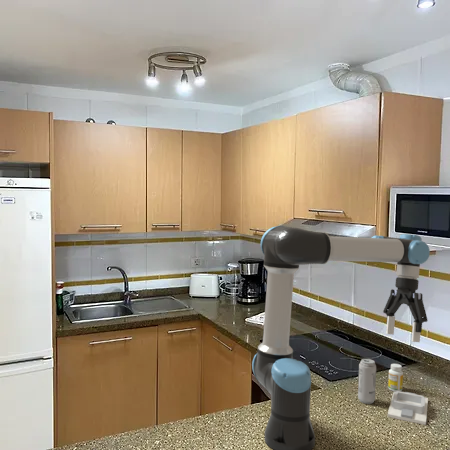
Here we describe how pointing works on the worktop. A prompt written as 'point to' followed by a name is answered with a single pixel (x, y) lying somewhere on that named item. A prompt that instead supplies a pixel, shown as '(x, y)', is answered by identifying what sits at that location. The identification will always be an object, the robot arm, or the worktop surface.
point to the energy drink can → (367, 381)
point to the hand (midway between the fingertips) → (402, 337)
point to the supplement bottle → (395, 378)
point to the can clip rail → (408, 407)
